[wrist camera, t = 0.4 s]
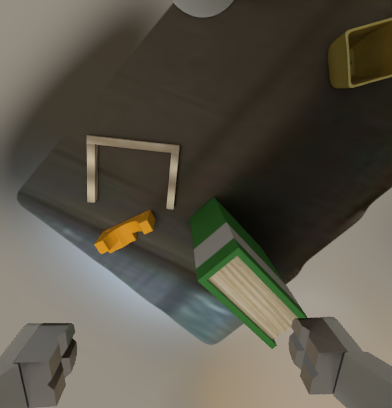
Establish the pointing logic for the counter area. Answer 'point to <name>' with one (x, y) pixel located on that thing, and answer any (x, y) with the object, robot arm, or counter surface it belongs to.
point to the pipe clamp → (125, 232)
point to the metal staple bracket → (134, 144)
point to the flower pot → (361, 55)
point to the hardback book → (241, 273)
